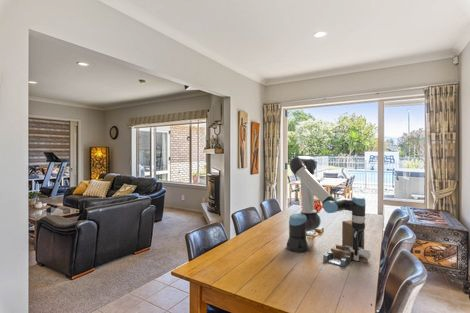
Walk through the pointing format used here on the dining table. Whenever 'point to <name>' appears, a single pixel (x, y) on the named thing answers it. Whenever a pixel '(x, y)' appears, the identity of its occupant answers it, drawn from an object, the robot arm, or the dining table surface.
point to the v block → (336, 259)
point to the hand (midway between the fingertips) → (357, 258)
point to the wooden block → (348, 233)
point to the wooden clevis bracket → (345, 253)
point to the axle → (362, 252)
